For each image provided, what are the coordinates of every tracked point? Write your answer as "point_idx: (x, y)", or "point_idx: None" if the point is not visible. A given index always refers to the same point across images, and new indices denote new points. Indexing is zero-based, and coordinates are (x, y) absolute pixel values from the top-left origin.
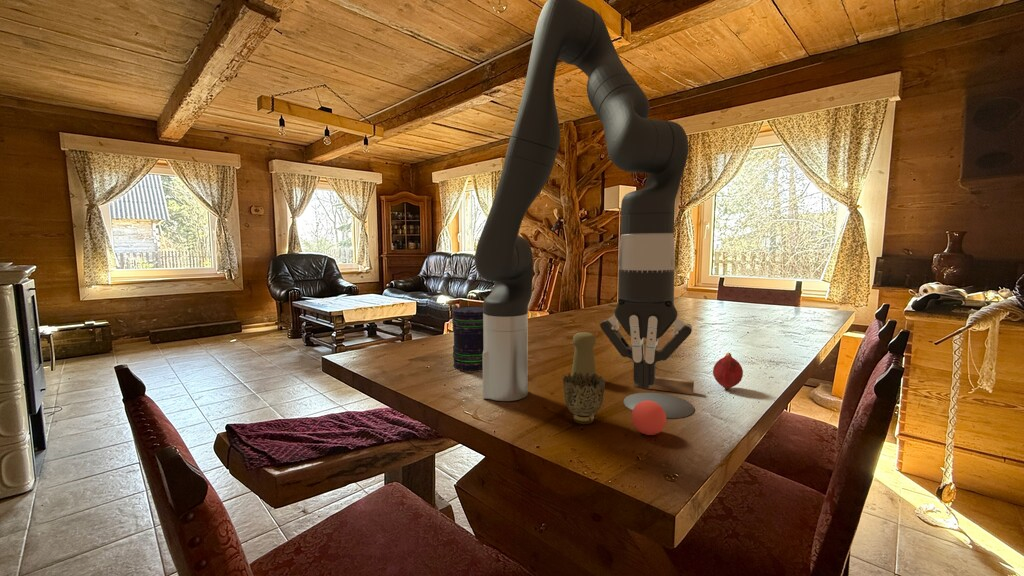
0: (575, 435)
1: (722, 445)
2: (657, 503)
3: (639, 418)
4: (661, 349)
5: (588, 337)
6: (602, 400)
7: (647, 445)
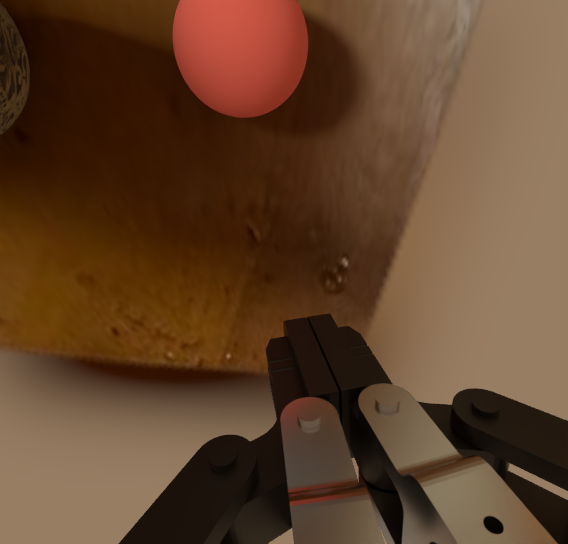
0: (36, 197)
1: (452, 28)
2: None
3: (222, 111)
4: (475, 431)
5: None
6: (17, 38)
7: (256, 148)
